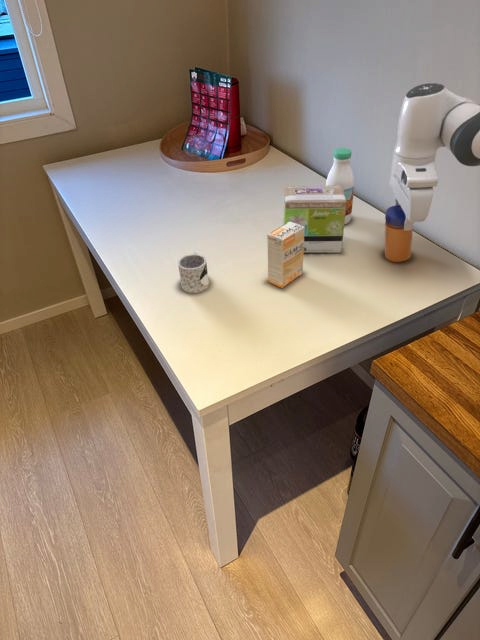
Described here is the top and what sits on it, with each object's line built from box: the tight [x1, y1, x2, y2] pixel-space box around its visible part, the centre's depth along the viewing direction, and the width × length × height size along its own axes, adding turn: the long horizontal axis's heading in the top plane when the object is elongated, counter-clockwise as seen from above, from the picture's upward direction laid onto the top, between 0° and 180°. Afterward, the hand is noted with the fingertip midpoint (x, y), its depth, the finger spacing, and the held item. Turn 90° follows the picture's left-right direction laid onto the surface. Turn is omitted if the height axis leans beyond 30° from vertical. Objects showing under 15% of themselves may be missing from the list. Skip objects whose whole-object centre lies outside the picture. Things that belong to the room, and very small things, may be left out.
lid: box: [384, 204, 406, 227], centre depth 115 cm, size 7×7×2 cm
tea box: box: [282, 185, 346, 254], centre depth 125 cm, size 15×10×15 cm
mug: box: [177, 252, 210, 294], centre depth 117 cm, size 10×7×7 cm
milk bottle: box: [325, 147, 355, 225], centre depth 134 cm, size 8×8×20 cm
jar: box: [384, 220, 414, 263], centre depth 119 cm, size 6×6×11 cm
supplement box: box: [266, 222, 305, 289], centre depth 114 cm, size 8×5×13 cm, turn 137°
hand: (402, 221), depth 116 cm, fingers closed on lid, 6 cm apart
